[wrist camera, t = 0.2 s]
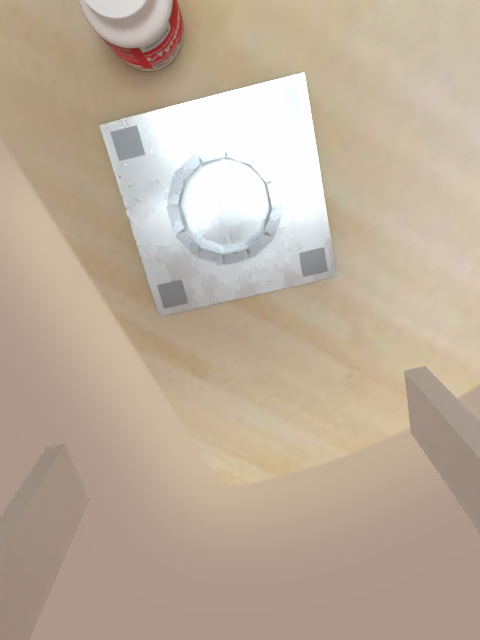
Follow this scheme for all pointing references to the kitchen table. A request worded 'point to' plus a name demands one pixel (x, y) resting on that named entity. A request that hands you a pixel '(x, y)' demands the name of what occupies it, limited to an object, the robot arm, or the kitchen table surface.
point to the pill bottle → (138, 29)
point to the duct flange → (224, 195)
